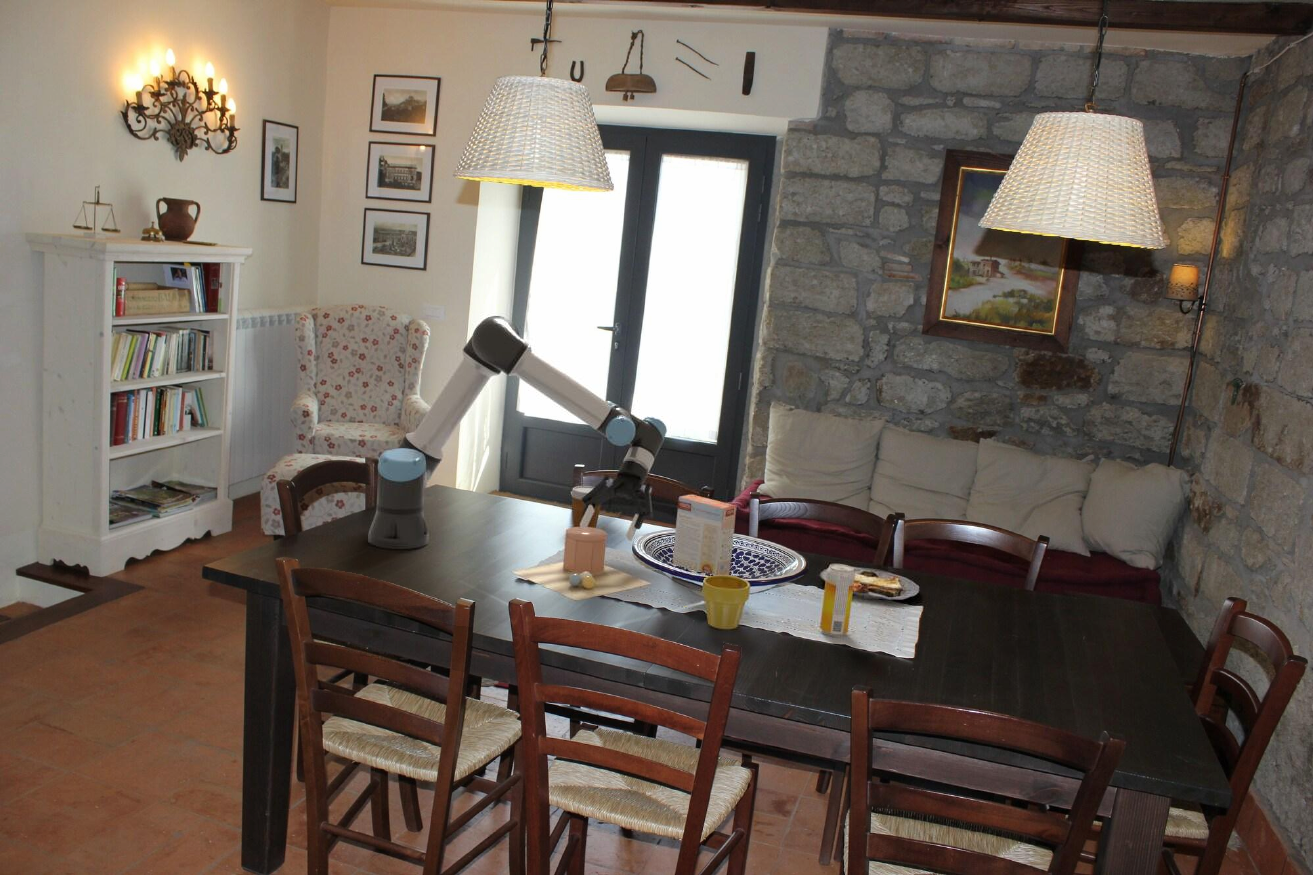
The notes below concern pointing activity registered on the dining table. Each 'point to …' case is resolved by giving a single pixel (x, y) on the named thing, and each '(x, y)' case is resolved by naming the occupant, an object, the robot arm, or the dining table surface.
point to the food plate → (880, 584)
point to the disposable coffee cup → (582, 506)
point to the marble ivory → (585, 575)
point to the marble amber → (588, 582)
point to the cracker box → (704, 535)
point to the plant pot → (725, 600)
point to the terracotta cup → (584, 550)
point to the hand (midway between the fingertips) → (605, 533)
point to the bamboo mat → (559, 582)
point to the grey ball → (575, 580)
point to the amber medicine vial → (837, 600)
